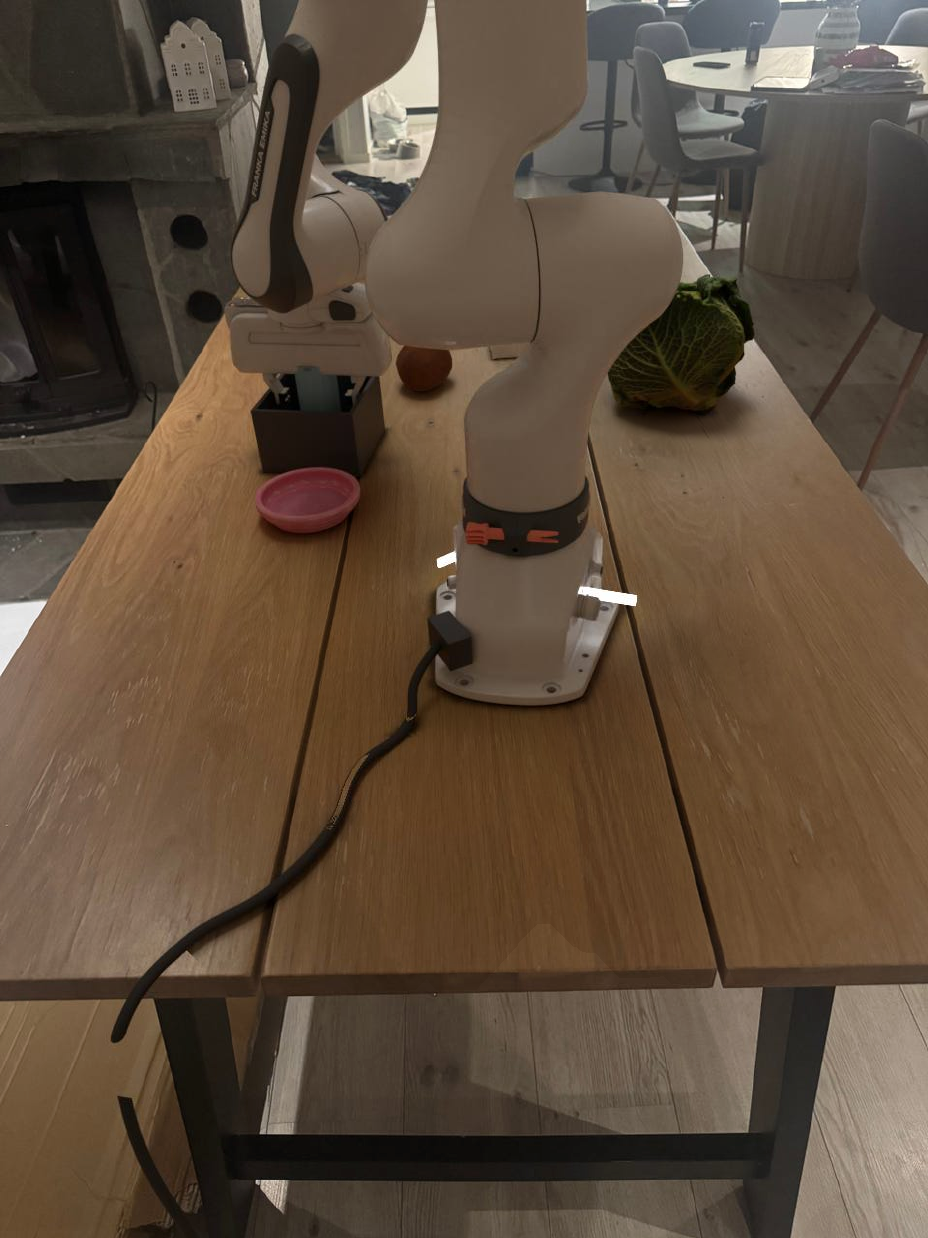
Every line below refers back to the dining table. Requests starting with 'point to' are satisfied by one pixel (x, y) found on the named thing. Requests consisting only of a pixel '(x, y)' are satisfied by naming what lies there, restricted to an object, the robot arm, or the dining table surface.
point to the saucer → (308, 499)
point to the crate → (319, 429)
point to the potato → (423, 367)
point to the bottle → (317, 390)
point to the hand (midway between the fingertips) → (318, 404)
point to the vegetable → (686, 349)
